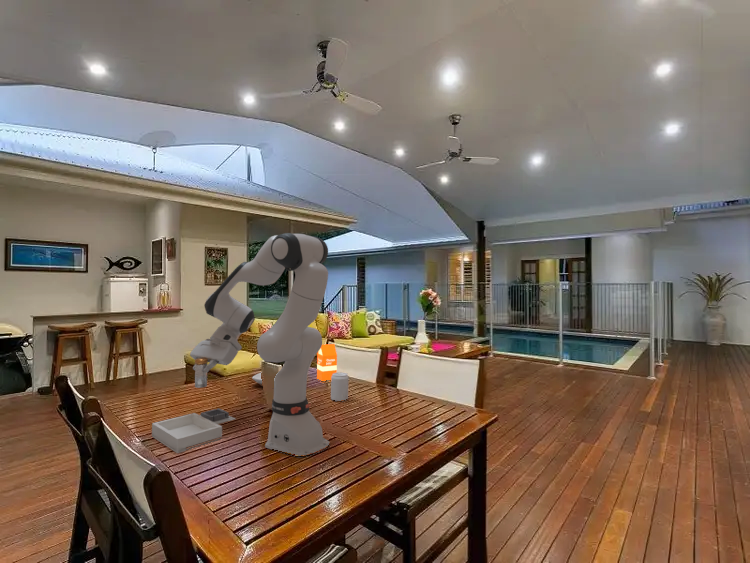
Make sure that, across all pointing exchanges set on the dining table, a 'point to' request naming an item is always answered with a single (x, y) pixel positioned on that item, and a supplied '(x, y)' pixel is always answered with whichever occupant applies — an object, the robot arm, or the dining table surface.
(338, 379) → the beverage can
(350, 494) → the dining table surface
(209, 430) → the tray
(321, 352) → the orange juice
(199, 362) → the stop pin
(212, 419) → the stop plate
